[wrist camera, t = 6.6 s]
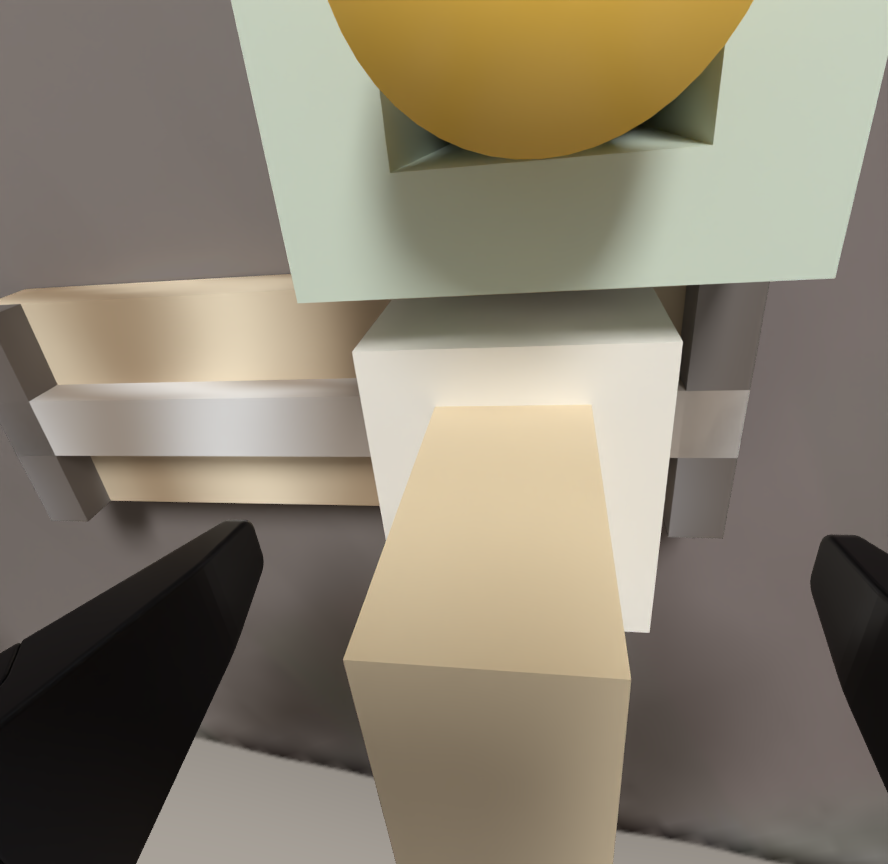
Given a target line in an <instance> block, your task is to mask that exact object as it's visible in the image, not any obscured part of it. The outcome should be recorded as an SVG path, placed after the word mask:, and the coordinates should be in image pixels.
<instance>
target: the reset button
mask: <svg viewBox="0 0 888 864" xmlns="http://www.w3.org/2000/svg"><path fill="white" fill-rule="evenodd" d="M752 2H753V0H328V3H329V5H330V7H331V10H332V12H333V14H334V17H335V19H336V21H337V23H338V26H339V28H340V30H341V33H342V34H343V36H344V38H345V40H346V41H347V43H348V45H349V47H350V49H351V50H352V52H353V54H354V56H355V57H356V59H357V61H358V62H359V63H360V65H361V66H362V68H363V69H364V70H365V72H366V73H367V74H368V76H369V77H370V79H371V80H372V81H373V83H374V84H375V85H376V86H377V87H378V88H379V90H380V91H381V92H382V93H383V94H384V95H385V96H386V97H387V98H388V99H389V100H390V101H391V102H392V103H393V105H394V106H395V107H397V108H398V109H399V110H400V111H401V112H403V113H404V114H405V115H406V116H407V117H409V118H410V119H411V120H412V121H414V122H415V123H416V124H417V125H419V126H421V127H422V128H424V129H425V130H427V131H429V132H430V133H432V134H433V135H435V136H437V137H438V138H440V139H442V140H444V141H447V142H449V143H451V144H453V145H456V146H458V147H460V148H463V149H465V150H469V151H472V152H476V153H480V154H483V155H487V156H492V157H499V158H507V159H515V160H516V159H545V158H552V157H558V156H564V155H570V154H573V153H576V152H580V151H583V150H586V149H590V148H593V147H596V146H599V145H601V144H603V143H605V142H607V141H610V140H612V139H614V138H616V137H619V136H621V135H623V134H625V133H626V132H628V131H630V130H631V129H633V128H635V127H636V126H638V125H640V124H641V123H643V122H644V121H646V120H648V119H649V118H651V117H652V116H653V115H655V114H656V113H657V112H659V111H660V110H661V109H662V108H664V107H665V106H666V105H668V104H669V103H670V102H671V101H673V100H674V99H675V98H676V97H678V96H679V95H680V94H681V93H682V92H683V91H684V90H685V89H686V88H687V87H688V86H689V85H690V84H691V83H692V82H693V81H694V80H695V79H696V78H697V77H698V76H699V75H700V74H701V73H702V72H703V71H704V70H705V68H706V67H707V66H708V65H709V64H710V62H711V61H712V60H713V59H714V58H715V56H716V55H717V54H718V53H719V51H720V50H721V49H722V48H723V47H724V45H725V44H726V43H727V41H728V40H729V38H730V37H731V35H732V34H733V32H734V31H735V29H736V28H737V26H738V25H739V23H740V22H741V20H742V19H743V17H744V16H745V15H746V13H747V11H748V10H749V8H750V6H751V4H752Z"/></svg>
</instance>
